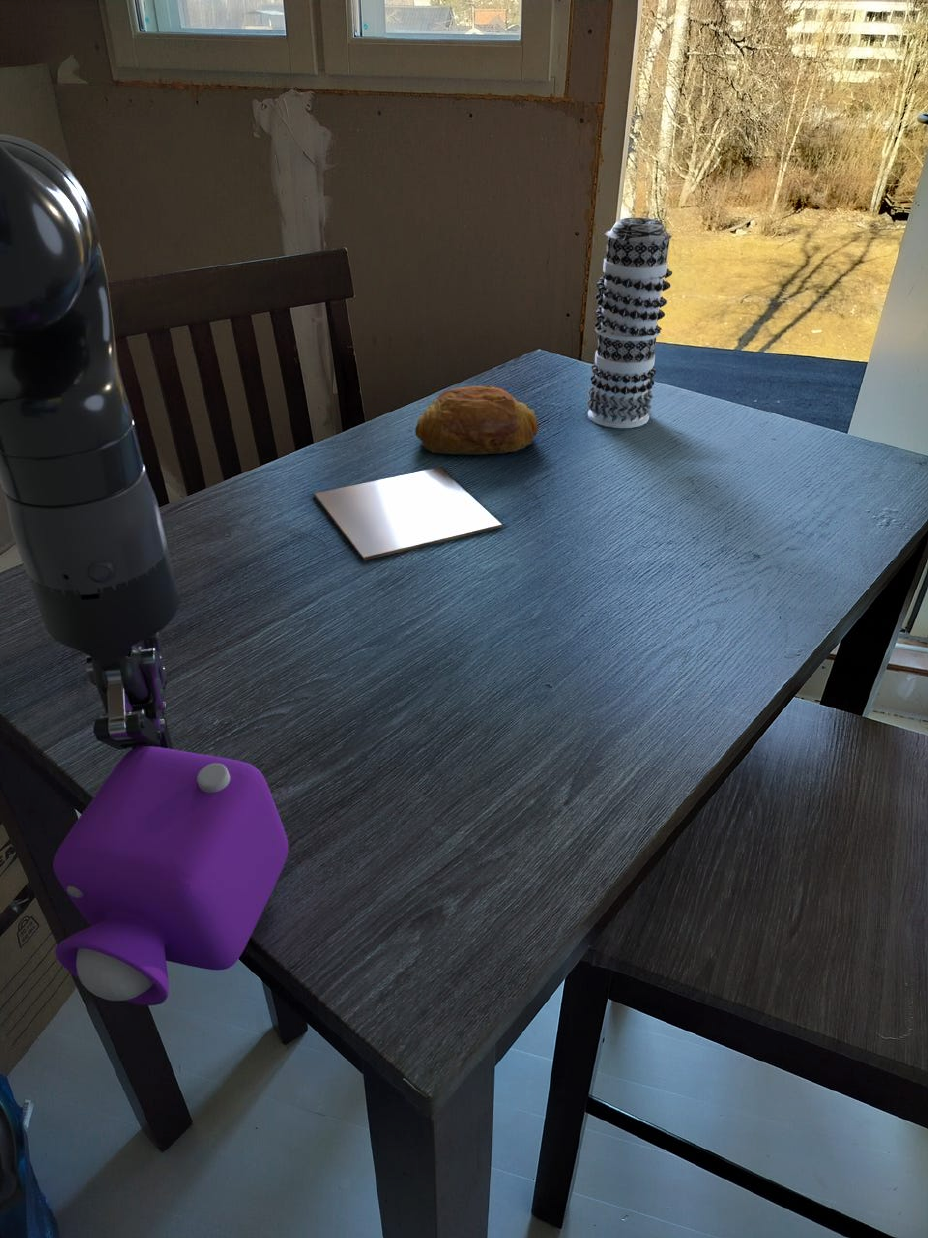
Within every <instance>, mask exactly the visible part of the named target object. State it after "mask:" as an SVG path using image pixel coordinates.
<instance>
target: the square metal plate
mask: <svg viewBox="0 0 928 1238" xmlns="http://www.w3.org/2000/svg"><path fill="white" fill-rule="evenodd" d="M313 495H314V497H315V499H316V500H317V501H318V503H319V504H320V505H321V507H322V508H323V509H324V511H325V512H326V514H328V516H329V518H331V520H332V521H333V523H334V524H335V526H336V527H337V528H338V529H339V530H340V532H341V534H343V536H344V537H345V539H346V540H347V541H348V542H349V544H350V546H352V548H353V549H354V550H355V552H356V553H357V554H358V555H359V557H360V558H361V559H362V561H363V562H365V561H371V560H374V559H377V558H381V557H386V556H390V555H394V554H398V553H404V552H407V551H411V550H414V549H415V550H416V549H419V548H423V547H427V546H431V545H437V544H440V543H443V542H448V541H451V540H455V539H460V538H465V537H469V536H473V535H476V534H477V535H478V534H481V533H484V532H485V533H486V532H489V531H494V530H497V529H501V528H503V524H502V523H501V522H500V521H499V520H498V519H497V518H496V517H494V516H493V515H492V514H491V513H490V512H489V511H488V510H487V509H486V508H485V507H484V506H483V505H482V504H480V503H479V502H478V501H477V500H476V499H475V498H474V497H473V496H472V495H471V494H470V493H468V492H467V490H465V489H464V488H463V487H462V486H461V485H460V484H459V483H458V482H456V480H455V479H453V478H452V476H450V475H449V474H448V473H447V472H446V471H445V470H443V469H442V468H441V467H440V466H439V467H435V468H430V469H425V470H420V471H416V472H410V473H405V474H401V475H396V476H391V477H386V478H381V479H377V480H371V481H367V482H362V483H358V484H353V485H348V486H343V487H337V488H334V489H328V490H324V491H318V492H314V494H313Z"/></svg>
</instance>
